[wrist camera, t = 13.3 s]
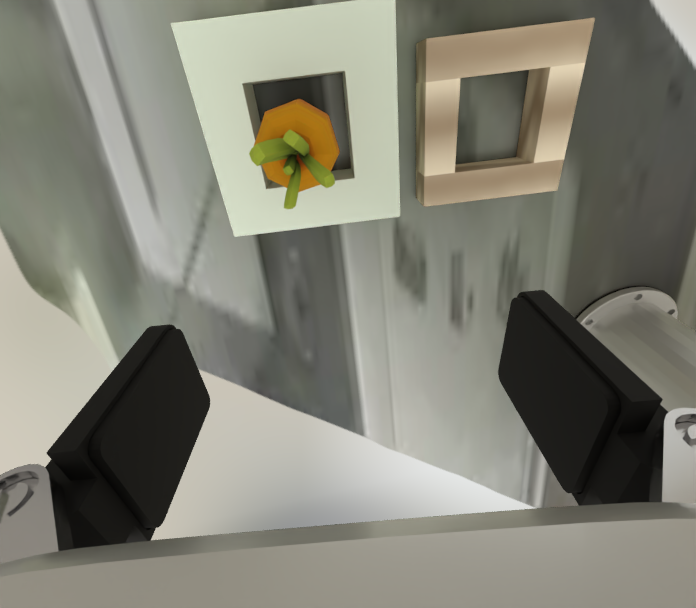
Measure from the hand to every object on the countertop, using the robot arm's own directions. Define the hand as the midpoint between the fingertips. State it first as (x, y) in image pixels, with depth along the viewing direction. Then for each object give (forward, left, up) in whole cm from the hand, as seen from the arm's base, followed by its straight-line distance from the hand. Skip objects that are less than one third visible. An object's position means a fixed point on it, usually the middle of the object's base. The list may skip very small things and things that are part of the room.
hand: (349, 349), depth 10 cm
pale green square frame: (+4, +2, -24) cm, 24 cm away
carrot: (+4, +1, -24) cm, 25 cm away
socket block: (+3, -13, -24) cm, 28 cm away
